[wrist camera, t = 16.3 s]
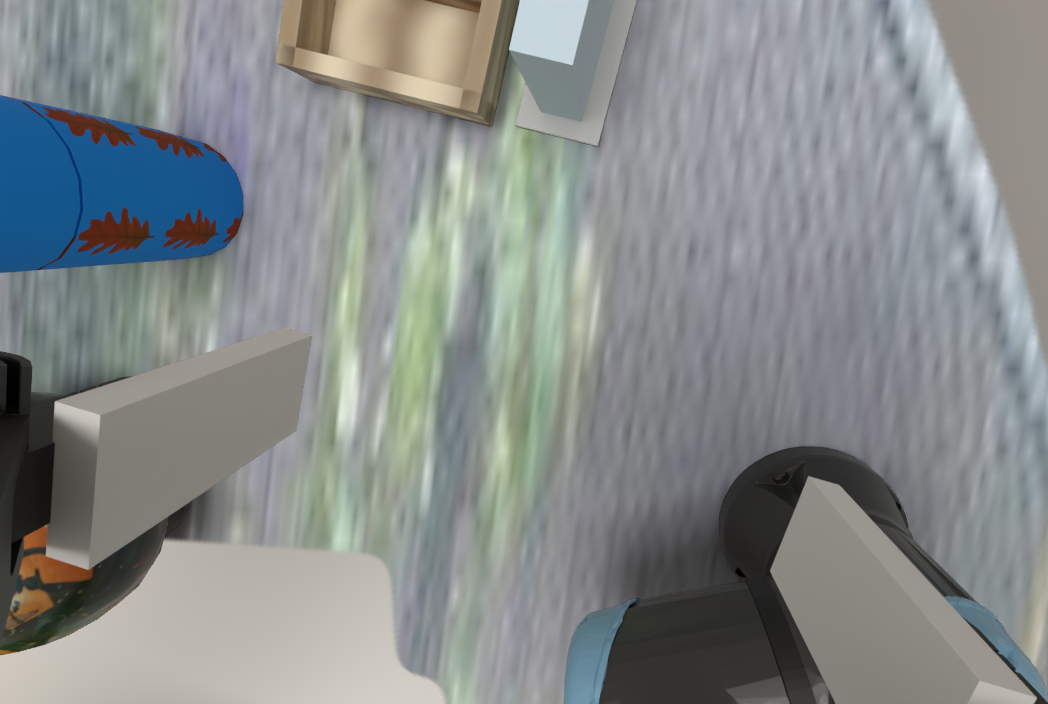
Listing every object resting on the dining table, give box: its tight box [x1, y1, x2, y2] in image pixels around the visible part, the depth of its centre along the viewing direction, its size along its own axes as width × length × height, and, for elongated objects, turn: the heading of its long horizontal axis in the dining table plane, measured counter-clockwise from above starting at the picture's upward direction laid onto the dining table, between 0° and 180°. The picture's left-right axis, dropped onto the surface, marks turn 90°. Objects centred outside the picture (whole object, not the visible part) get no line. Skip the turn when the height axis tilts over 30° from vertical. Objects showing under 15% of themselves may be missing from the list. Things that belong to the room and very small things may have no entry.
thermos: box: [0, 95, 243, 273], centre depth 41 cm, size 11×11×25 cm
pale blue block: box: [509, 0, 614, 122], centre depth 37 cm, size 11×4×17 cm, turn 166°
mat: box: [516, 0, 637, 147], centre depth 46 cm, size 7×14×1 cm, turn 166°
